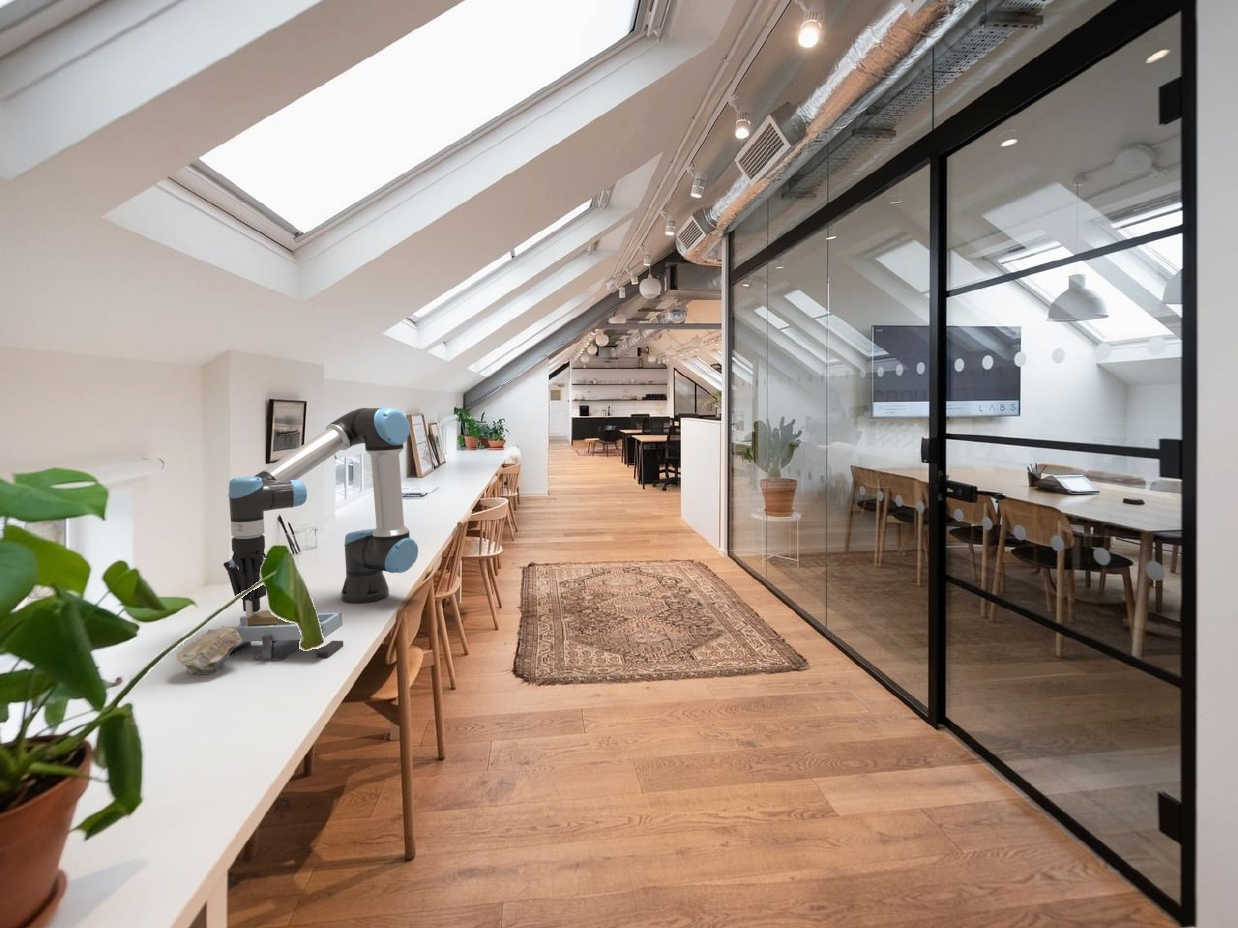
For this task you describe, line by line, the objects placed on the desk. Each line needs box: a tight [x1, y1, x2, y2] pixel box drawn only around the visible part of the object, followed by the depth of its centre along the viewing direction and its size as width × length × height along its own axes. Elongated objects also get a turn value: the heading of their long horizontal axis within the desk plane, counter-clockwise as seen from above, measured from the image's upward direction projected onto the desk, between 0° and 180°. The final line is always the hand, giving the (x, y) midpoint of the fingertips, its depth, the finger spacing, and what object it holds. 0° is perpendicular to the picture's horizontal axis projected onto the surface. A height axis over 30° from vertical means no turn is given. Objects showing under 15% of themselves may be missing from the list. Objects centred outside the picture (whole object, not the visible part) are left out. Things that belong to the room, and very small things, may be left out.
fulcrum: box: [229, 636, 344, 662], centre depth 164 cm, size 14×29×6 cm, turn 87°
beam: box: [217, 611, 344, 642], centre depth 164 cm, size 12×28×4 cm, turn 87°
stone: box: [175, 625, 243, 675], centre depth 151 cm, size 11×14×10 cm
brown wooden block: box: [247, 609, 291, 626], centre depth 164 cm, size 6×8×4 cm
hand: (252, 622), depth 165 cm, fingers closed
